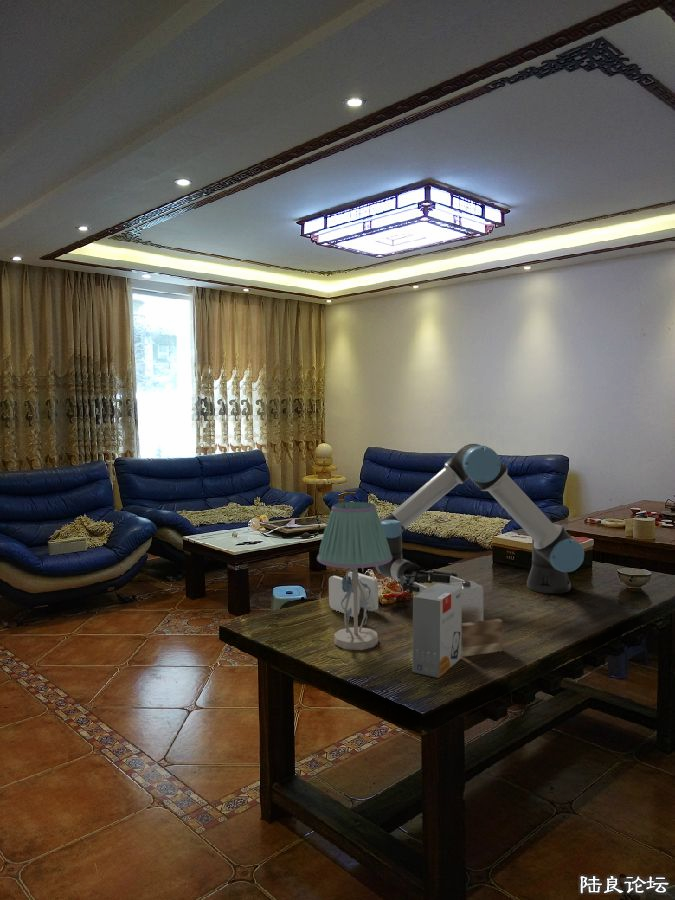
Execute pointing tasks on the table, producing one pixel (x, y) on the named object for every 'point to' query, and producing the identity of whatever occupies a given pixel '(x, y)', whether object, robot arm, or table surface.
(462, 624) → the dock
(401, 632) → the table surface
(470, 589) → the block
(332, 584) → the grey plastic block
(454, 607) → the hard drive box
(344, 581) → the table lamp
